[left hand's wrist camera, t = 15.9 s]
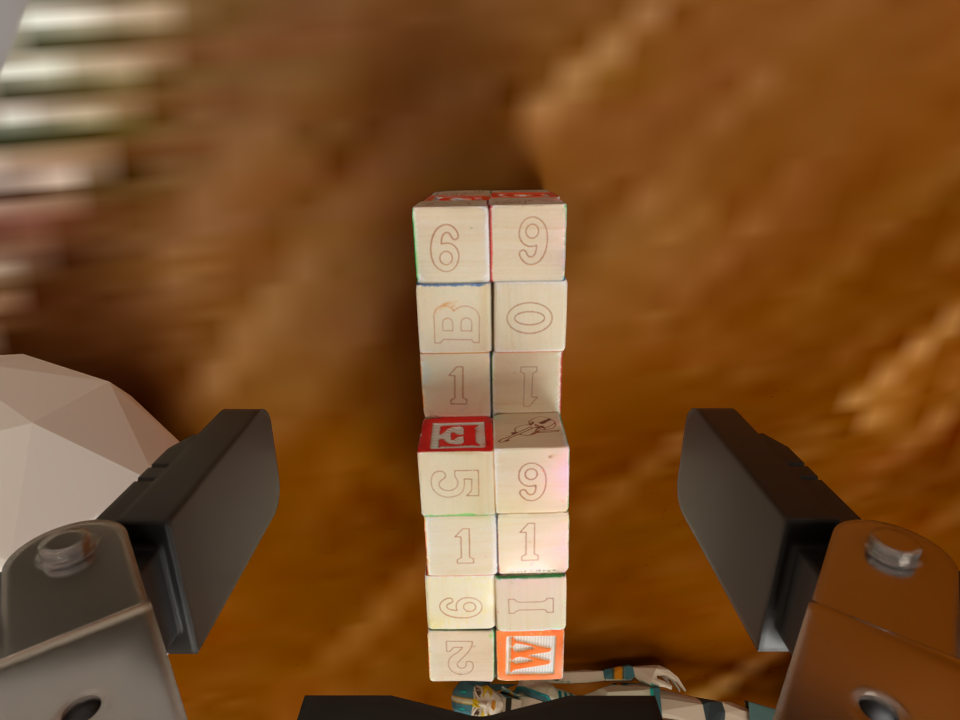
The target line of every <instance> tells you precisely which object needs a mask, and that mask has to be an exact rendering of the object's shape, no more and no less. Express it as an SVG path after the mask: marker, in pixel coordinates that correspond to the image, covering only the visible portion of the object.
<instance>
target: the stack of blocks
mask: <svg viewBox="0 0 960 720" xmlns="http://www.w3.org/2000/svg"><path fill="white" fill-rule="evenodd" d="M412 220H413V235H414V249H415V266H416V275H417V284H416V299H417V314H418V330H419V346H420V366H421V383H422V395H423V408H424V414H425V419H424V420H423V424H422V431H421V435H420V440H419V445H418V451H417V456H418V469H419V483H420V495H421V509H422V514H423V516H424V524H425V541H426V556H427V564H426V572H425V586H426V601H427V620H428V634H427V635H428V656H429V676H430V680H432V681H493V679H494V678H495V677H497V679H499V680H506V681H511V680H548V679H561V678H563V654H564V628H565V626H566V574H565V571H566V570H567V569H568V567H569V514H568V506H569V451H570V449H569V445H568V442H567V438H566V434H565V430H564V427H563V423H562V419H561V416H560V410H561V380H562V353H563V350H564V349H565V337H566V315H567V280H566V278H565V276H564V274H565V249H566V222H567V205H566V203H564V202H563V201H562V200H560V198H559V196H557V195H556V194H554V193H551V192H549V191H547V190H497V191H489V190H461V191H441V192H434V193H433V194H432V195H431V196H428V197H427V198H426V199H425V200H424V201H421V202H419V203H418V204H416V205H415V206H414V207H413V208H412Z"/></svg>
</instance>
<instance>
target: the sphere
mask: <svg viewBox="0 0 960 720" xmlns="http://www.w3.org/2000/svg"><path fill="white" fill-rule="evenodd" d="M177 443H179V441H178V440H177V439H176V438H175V437H174V436H173V435H172V434H171V433H170V432H169V431H168V430H167V429H166V428H165V427H163V426H162V425H161V424H160V423H159V422H158V421H157V420H156V419H155V418H154V417H153V416H152V415H151V414H150V413H149V412H148V411H147V410H145V409H144V408H143V407H142V406H141V405H140V404H139V403H138V402H137V401H136V400H135V399H134V398H133V397H132V396H131V395H129V394H127V393H126V392H124V391H123V390H121V389H120V388H118V387H117V386H115V385H114V384H112V383H111V382H109V381H106V380H103V379H100V378H96V377H93V376H90V375H87V374H84V373H81V372H78V371H75V370H72V369H68V368H65V367H62V366H59V365H56V364H53V363H50V362H47V361H43V360H40V359H37V358H34V357H31V356H28V355H25V354H12V355H0V572H2V568H3V566H4V564H5V562H6V561H7V559H8V558H9V557H10V556H11V555H12V554H13V553H14V552H15V551H16V550H17V549H19V548H20V547H21V546H23V545H24V544H25V543H27V542H29V541H30V540H32V539H34V538H35V537H37V536H39V535H41V534H43V533H46V532H48V531H50V530H53V529H55V528H58V527H61V526H64V525H68V524H71V523H75V522H80V521H87V520H95V519H96V518H97V517H98V516H99V515H100V514H101V513H102V512H103V511H104V510H105V509H106V508H107V507H109V506H110V505H111V504H112V503H113V502H114V501H115V500H116V499H117V498H118V497H119V496H120V495H121V494H122V493H123V492H124V491H125V490H126V489H127V488H128V487H129V486H130V485H131V484H132V483H133V482H134V481H138V477H139V476H140V475H141V474H142V473H143V472H144V471H145V470H146V469H147V468H151V467H152V464H153V463H154V462H155V461H156V460H157V459H158V458H159V457H160V456H161V455H162V454H163V453H164V452H165V451H166V450H167V449H168V448H169V447H171V446H173V445H175V444H177ZM167 655H168V654H167Z"/></svg>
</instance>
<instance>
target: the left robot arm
mask: <svg viewBox="0 0 960 720" xmlns="http://www.w3.org/2000/svg"><path fill="white" fill-rule="evenodd" d="M677 489H678V500H679V505H680V508H681V511H682V513H683V515H684V517H685V519H686V521H687V523H688V525H689V526H690V528H691V530H692V532H693V534H694V535H695V537H696V539H697V541H698V543H699V545H700V546H701V548H702V550H703V552H704V554H705V556H706V557H707V559H708V561H709V563H710V565H711V567H712V568H713V570H714V572H715V574H716V576H717V578H718V579H719V581H720V583H721V585H722V587H723V588H724V590H725V592H726V594H727V596H728V598H729V599H730V601H731V603H732V605H733V607H734V609H735V610H736V612H737V614H738V616H739V618H740V620H741V621H742V623H743V625H744V627H745V629H746V631H747V632H748V634H749V636H750V638H751V640H752V641H753V643H754V645H755V647H756V649H757V651H789V652H790V653H791V655H792V658H791V662H790V665H789V668H788V671H787V675H786V678H785V681H784V684H783V687H782V691H781V694H780V697H779V700H778V704H777V707H776V710H775V713H774V717H773V720H960V571H958V568H957V566H956V564H955V562H954V561H953V559H952V558H951V557H950V556H949V555H948V554H947V553H946V552H945V551H944V550H943V549H941V548H940V547H939V546H937V545H936V544H935V543H933V542H931V541H930V540H928V539H926V538H925V537H923V536H921V535H919V534H917V533H914V532H912V531H910V530H907V529H905V528H902V527H899V526H896V525H892V524H889V523H885V522H880V521H873V520H861V519H860V518H859V517H858V516H857V515H856V514H855V513H854V512H853V511H852V510H851V509H850V508H849V507H848V506H847V505H846V504H845V503H844V502H843V501H842V500H841V499H840V498H839V497H838V496H837V495H836V494H835V493H834V492H833V491H832V490H831V489H830V488H829V487H828V486H827V485H826V484H825V483H824V482H823V481H822V480H818V476H817V475H816V474H815V473H814V472H813V471H812V470H811V469H810V468H809V467H808V466H804V462H803V461H801V460H800V459H799V458H798V457H797V456H796V455H795V454H794V453H793V452H792V451H791V450H790V449H789V448H788V447H787V446H785V445H783V444H781V443H779V442H778V441H776V440H774V439H772V438H770V437H768V436H767V435H765V434H758V433H757V432H756V431H755V430H754V429H753V428H752V427H751V426H750V425H749V424H748V423H747V422H746V421H745V420H744V418H743V417H742V416H741V415H740V414H739V413H738V412H737V411H736V410H735V409H732V408H693V409H691V410H690V411H689V413H688V415H687V418H686V423H685V431H684V438H683V445H682V453H681V460H680V467H679V474H678V484H677ZM279 490H280V486H279V476H278V468H277V461H276V454H275V447H274V440H273V433H272V426H271V420H270V416H269V414H268V412H267V411H266V410H264V409H224V410H222V411H221V412H220V413H219V414H218V415H217V416H216V417H215V418H214V419H213V420H212V421H211V422H210V423H209V424H208V425H207V426H206V427H205V428H204V429H203V430H202V431H201V432H200V433H199V434H193V435H191V436H190V437H188V438H186V439H184V440H182V441H180V442H179V443H177V444H175V445H173V446H171V447H169V448H168V449H167V450H166V451H165V452H164V453H163V454H162V455H161V456H160V457H159V458H158V459H157V460H156V461H155V462H154V463H153V464H152V467H151V468H147V469H146V470H145V471H144V472H143V473H142V474H141V475H140V476H139V477H138V481H134V482H133V483H132V484H131V485H130V486H129V487H128V488H127V489H126V490H125V491H124V492H123V493H122V494H121V495H120V496H119V497H118V498H117V499H116V500H115V501H114V502H113V503H112V504H111V505H110V506H109V507H107V508H106V509H105V510H104V511H103V512H102V513H101V514H100V515H99V516H98V517H97V518H96V519H95V520H87V521H80V522H75V523H71V524H68V525H64V526H61V527H58V528H55V529H53V530H50V531H48V532H46V533H43V534H41V535H39V536H37V537H35V538H34V539H32V540H30V541H29V542H27V543H25V544H24V545H23V546H21V547H20V548H19V549H17V550H16V551H15V552H14V553H13V554H12V555H11V556H10V557H9V558H8V559H7V561H6V562H5V564H4V566H3V568H2V572H0V720H187V717H186V713H185V710H184V707H183V704H182V700H181V697H180V694H179V691H178V687H177V684H176V681H175V678H174V675H173V671H172V668H171V665H170V662H169V658H168V655H167V654H197V653H198V652H199V650H200V648H201V646H202V644H203V643H204V641H205V639H206V637H207V635H208V634H209V632H210V630H211V628H212V626H213V625H214V623H215V621H216V619H217V617H218V616H219V614H220V612H221V610H222V608H223V607H224V605H225V603H226V601H227V599H228V598H229V596H230V594H231V592H232V590H233V588H234V587H235V585H236V583H237V581H238V579H239V578H240V576H241V574H242V572H243V570H244V569H245V567H246V565H247V563H248V561H249V560H250V558H251V556H252V554H253V552H254V551H255V549H256V547H257V545H258V543H259V542H260V540H261V538H262V536H263V534H264V533H265V531H266V529H267V527H268V525H269V523H270V522H271V520H272V518H273V516H274V514H275V512H276V509H277V505H278V500H279ZM297 720H663V719H662V716H661V713H660V709H659V706H658V703H657V700H656V697H655V696H565V697H561V698H557V699H553V700H549V701H545V702H541V703H537V704H533V705H529V706H525V707H521V708H517V709H513V710H509V711H505V712H501V713H497V714H493V715H488V716H472V715H467V714H463V713H459V712H455V711H451V710H447V709H443V708H439V707H435V706H431V705H427V704H423V703H419V702H415V701H411V700H407V699H403V698H399V697H395V696H305V697H304V700H303V703H302V706H301V709H300V713H299V716H298V719H297Z"/></svg>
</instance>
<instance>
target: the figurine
mask: <svg viewBox="0 0 960 720" xmlns="http://www.w3.org/2000/svg"><path fill="white" fill-rule="evenodd" d="M657 676H661V677H662V678H663V679H664V680H665V681H666V682H665V681H662V680H660V679H657ZM634 678H636V679H637V680H638V681H639V682H641V683H614V684H611V685H609V686H606V687H603V688H600V689H597V690H596V691H594V692H592V693H589V694H586V695H583V696H655V697H656V700H657V703H658V706H659V709H660V713H661V716H662V719H668V720H773V717H774V713H775V710H776V709H772V708H769V707H766V706H762V705H759V704H756V703H752V702H749V701H746V700H745V707H743V706H740V705H737V704H734V703H731V702H724V701H715V700H709V699H703V698H697V697H692V696H688V695H683V694H679V693H675V692H670V691H666V690H662V689H660V688H659V687H666V688H668V689H670V690H672V685H670V682H669V680H671V681H672V683H673V684H674V685H675V687H676V688H677V690H678V691H679V692H680V689H679V687H678V685H677V684H676V682H677V683H678V684H679V686H680V687H681V688H682V689H683V690H684V691H685V692H686V689H685V688H684V686H683V684H682V683H681V681H680V680H679V678H678V677H677V676H676V675H674V674H673V673H672V672H671V671H670V670H668V669H667V668H664V667H662V666H660V665H647V666H631V665H629V664H627V665H623V666H618V667H613V668H609V669H604V670H603V671H600V670H576V671H563V678H561V679H548V680H520V681H519V683H518V685H517V684H490V681H461V682H459V684H458V685H457V686H456V687H455V689H454V691H453V694H452V697H451V700H452V708H453V710H454V711H455V712H459V713H463V714H467V715H472V716H488V715H493V714H497V713H501V712H505V711H509V710H513V709H517V708H521V707H525V706H529V705H533V704H537V703H541V702H545V701H549V700H553V699H557V698H561V697H565V696H576V695H574V694H572V693H570V692H567V691H565V690H562V689H558V688H555V687H554V686H553V685H551V684H550V683H588V682H596V681H604V680H605V681H623V682H631V681H632V680H633V679H634ZM668 679H669V680H668ZM675 681H676V682H675ZM545 682H548V683H545ZM514 685H517V687H516V689H515V691H512V690H510V689H507V688H508V687H511V686H514ZM499 690H501V692H500V693H498V692H496V691H499Z"/></svg>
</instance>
